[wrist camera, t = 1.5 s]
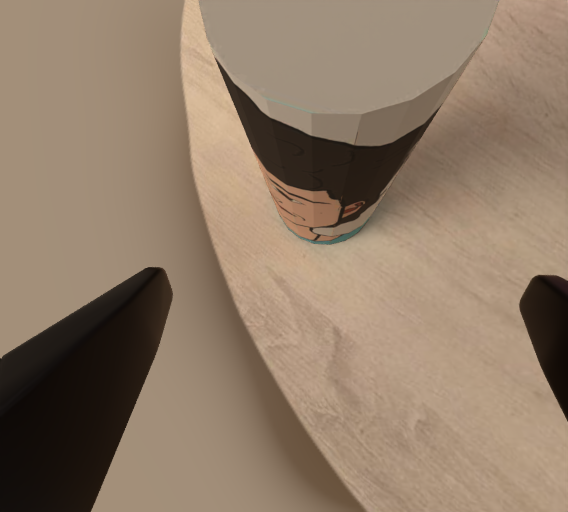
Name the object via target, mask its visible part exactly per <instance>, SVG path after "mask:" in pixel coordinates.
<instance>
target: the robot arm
mask: <svg viewBox="0 0 568 512" xmlns="http://www.w3.org/2000/svg"><path fill="white" fill-rule="evenodd" d="M172 296H173V293H172V288H171V285H170V283H169V280H168V277H167V274H166V272H165V270H164V269H163V268H160V267H148V268H145V269H144V270H142V271H141V272H139V273H137V274H135V275H134V276H132V277H131V278H129V279H127V280H126V281H124V282H122V283H121V284H119V285H117V286H116V287H114V288H113V289H111V290H109V291H108V292H106V293H105V294H103V295H101V296H100V297H98V298H96V299H95V300H93V301H91V302H90V303H88V304H87V305H85V306H83V307H82V308H80V309H79V310H77V311H75V312H74V313H72V314H70V315H69V316H67V317H65V318H64V319H62V320H61V321H59V322H57V323H56V324H54V325H52V326H51V327H49V328H48V329H46V330H44V331H43V332H41V333H40V334H38V335H36V336H34V337H33V338H31V339H30V340H28V341H26V342H25V343H23V344H21V345H20V346H18V347H17V348H15V349H13V350H12V351H10V352H8V353H7V354H5V355H4V356H3V357H2V359H1V358H0V512H91V510H92V508H93V505H94V503H95V501H96V498H97V496H98V493H99V491H100V489H101V486H102V484H103V481H104V479H105V476H106V474H107V472H108V469H109V467H110V464H111V462H112V459H113V457H114V455H115V452H116V449H117V447H118V445H119V442H120V440H121V438H122V435H123V433H124V430H125V428H126V426H127V423H128V421H129V418H130V416H131V413H132V411H133V409H134V406H135V404H136V401H137V399H138V396H139V394H140V392H141V389H142V387H143V384H144V382H145V379H146V377H147V375H148V372H149V370H150V367H151V365H152V363H153V360H154V358H155V355H156V352H157V350H158V347H159V344H160V340H161V337H162V333H163V330H164V326H165V323H166V319H167V316H168V312H169V309H170V305H171V302H172ZM519 307H520V312H521V314H522V317H523V320H524V323H525V325H526V328H527V331H528V334H529V336H530V339H531V342H532V344H533V347H534V350H535V353H536V355H537V358H538V361H539V363H540V366H541V368H542V370H543V372H544V375H545V377H546V379H547V381H548V383H549V385H550V387H551V389H552V391H553V393H554V395H555V397H556V399H557V401H558V403H559V405H560V407H561V409H562V411H563V413H564V415H565V417H566V419H567V421H568V281H567V280H565V279H563V278H561V277H559V276H556V275H537V276H535V277H534V278H532V280H531V281H530V283H529V285H528V287H527V289H526V290H525V292H524V294H523V296H522V297H521V299H520V303H519Z"/></svg>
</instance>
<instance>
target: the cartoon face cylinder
mask: <svg viewBox="0 0 568 512" xmlns="http://www.w3.org/2000/svg"><path fill="white" fill-rule="evenodd" d="M498 3H499V0H199V6H200V10H201V15H202V19H203V23H204V27H205V32H206V36H207V40H208V42H209V45H210V47H211V50H212V52H213V55H214V57H215V59H216V62H217V64H218V67H219V69H220V72H221V74H222V76H223V79H224V81H225V84H226V86H227V88H228V91H229V93H230V96H231V98H232V101H233V103H234V105H235V108H236V110H237V113H238V115H239V118H240V120H241V122H242V125H243V127H244V130H245V132H246V135H247V137H248V139H249V142H250V144H251V147H252V149H253V152H254V154H255V156H256V159H257V161H258V164H259V166H260V169H261V171H262V173H263V176H264V178H265V181H266V183H267V186H268V188H269V190H270V193H271V195H272V198H273V200H274V203H275V205H276V207H277V210H278V212H279V215H280V217H281V218H282V220H283V222H284V223H285V225H286V226H287V228H288V229H289V230H290V231H291V232H293V233H294V234H295V235H296V236H298V237H299V238H301V239H303V240H306V241H308V242H311V243H314V244H334V243H338V242H341V241H345V240H347V239H348V238H350V237H351V236H353V235H355V234H356V233H358V232H359V231H360V229H361V228H362V227H363V226H364V225H365V223H366V222H367V221H368V220H369V218H370V216H371V215H372V213H373V212H374V210H375V209H376V207H377V205H378V204H379V202H380V201H381V199H382V198H383V196H384V195H385V193H386V191H387V190H388V188H389V187H390V185H391V184H392V182H393V180H394V179H395V177H396V176H397V174H398V173H399V171H400V170H401V168H402V166H403V165H404V163H405V162H406V160H407V159H408V157H409V155H410V154H411V152H412V151H413V149H414V148H415V146H416V145H417V143H418V141H419V140H420V138H421V137H422V135H423V134H424V132H425V130H426V129H427V127H428V126H429V124H430V123H431V121H432V120H433V118H434V116H435V115H436V113H437V112H438V110H439V109H440V107H441V105H442V104H443V102H444V101H445V99H446V98H447V96H448V95H449V93H450V91H451V90H452V88H453V87H454V85H455V84H456V82H457V80H458V79H459V77H460V76H461V74H462V73H463V71H464V70H465V68H466V66H467V65H468V63H469V62H470V60H471V59H472V57H473V55H474V54H475V52H476V51H477V49H478V48H479V46H480V45H481V43H482V41H483V40H484V38H485V37H486V35H487V33H488V30H489V27H490V25H491V22H492V19H493V16H494V14H495V11H496V8H497V5H498Z"/></svg>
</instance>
